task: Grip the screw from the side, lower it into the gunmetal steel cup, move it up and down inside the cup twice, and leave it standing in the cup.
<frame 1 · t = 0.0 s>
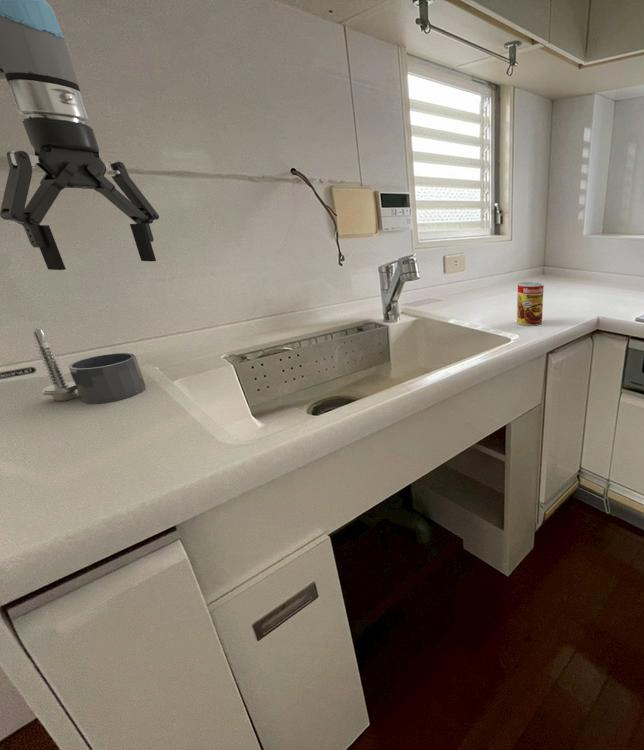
hand: (107, 265, 69), 23 cm above the countertop, tool pointing down, fingers open, 13 cm apart
steel cup: (115, 393, 75), on the countertop
canned food: (529, 323, 126), on the countertop
screw: (66, 399, 73), on the countertop
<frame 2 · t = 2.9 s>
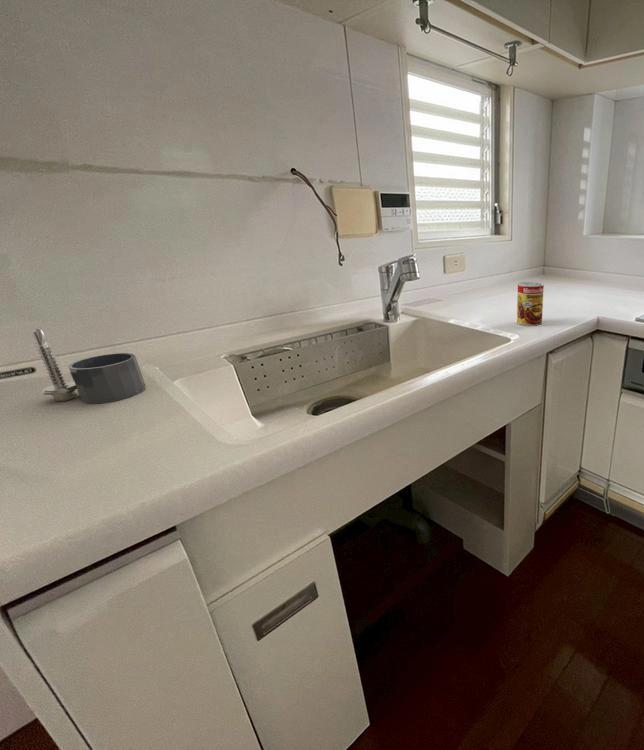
nothing on the countertop moved.
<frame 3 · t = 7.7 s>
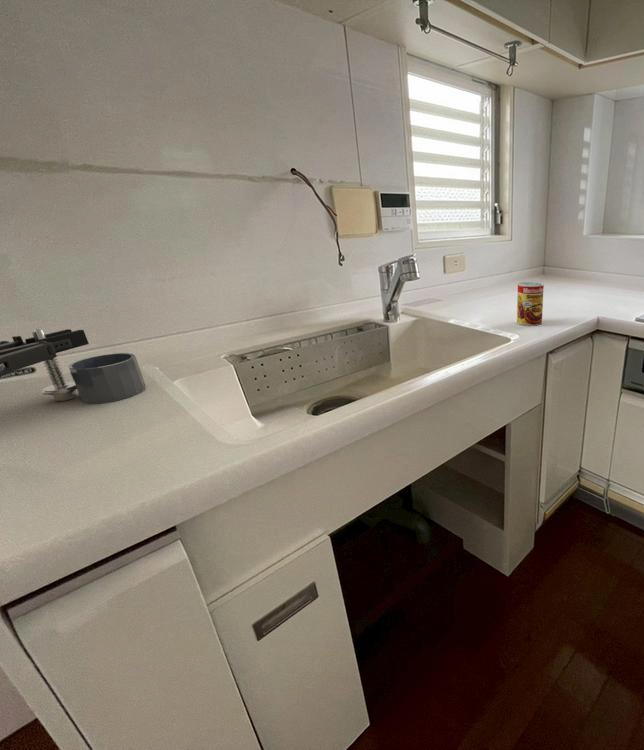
hand: (77, 336, 74), 10 cm above the countertop, tool horizontal, fingers closed on screw, 2 cm apart
screw: (66, 399, 73), on the countertop, touching gripper
everything else where it was.
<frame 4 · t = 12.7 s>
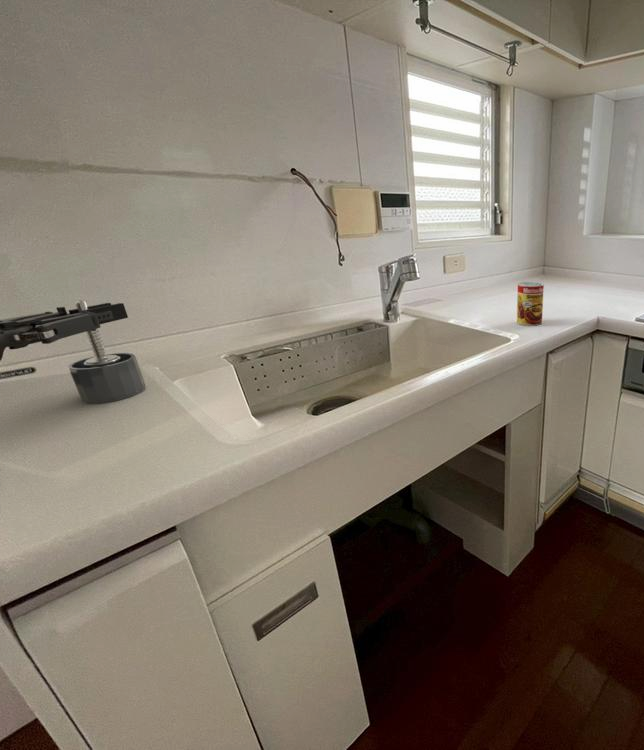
hand: (117, 310, 74), 14 cm above the countertop, tool horizontal, fingers closed on screw, 2 cm apart
screw: (106, 372, 73), point 4 cm above the countertop, touching gripper
everything else where it was.
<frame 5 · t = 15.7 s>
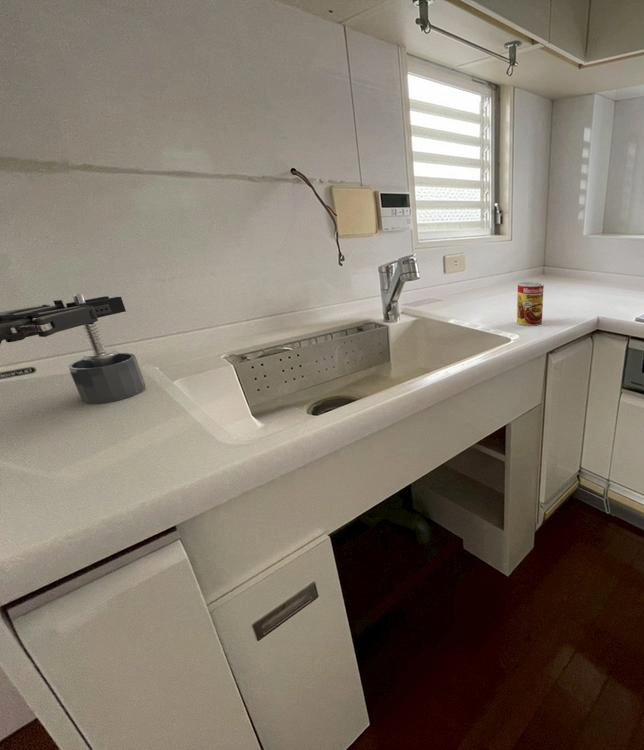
hand: (115, 303, 74), 16 cm above the countertop, tool horizontal, fingers closed on screw, 2 cm apart
screw: (104, 366, 73), point 5 cm above the countertop, touching gripper
everything else where it was.
when the fingers open (10 cm above the countertop, at t = 17.8 s): screw stays where it is, resting on steel cup.
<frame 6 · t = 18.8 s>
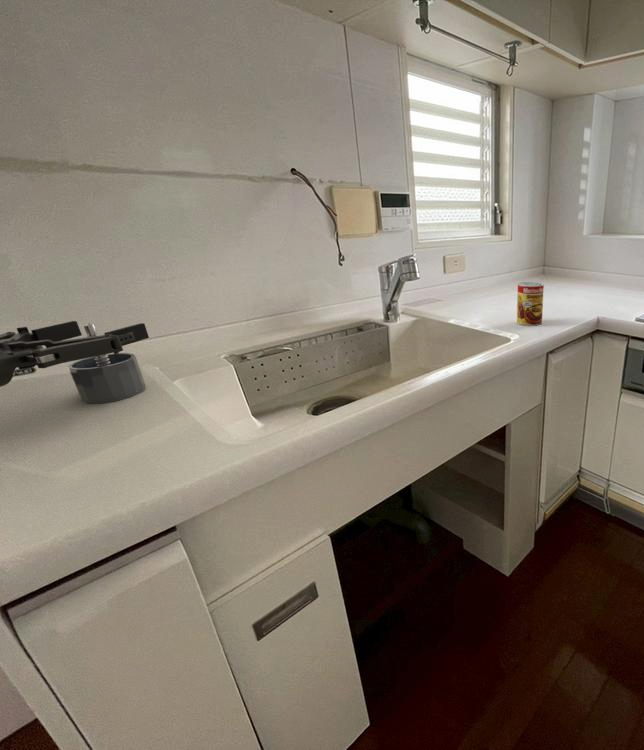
hand: (111, 329, 73), 11 cm above the countertop, tool horizontal, fingers open, 13 cm apart
screw: (114, 392, 74), resting on steel cup
everything else where it was.
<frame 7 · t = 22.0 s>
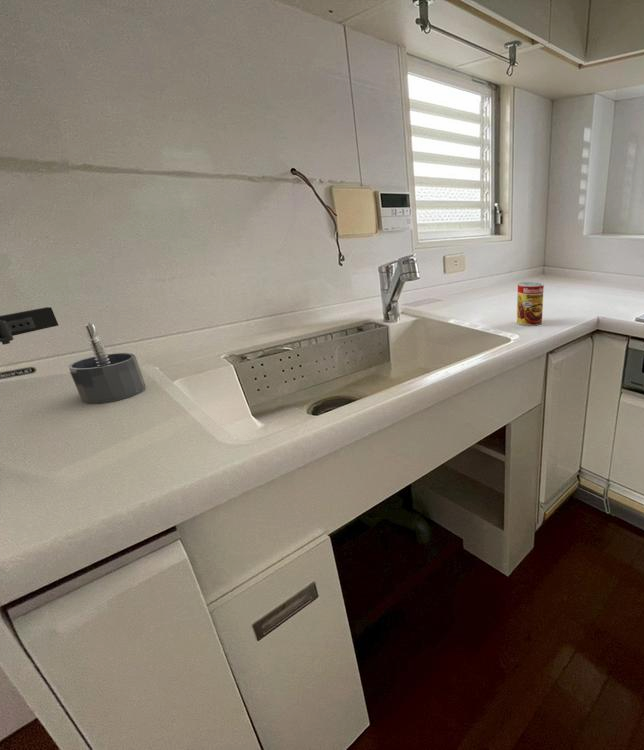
hand: (12, 314, 60), 17 cm above the countertop, tool horizontal, fingers open, 13 cm apart
nothing on the countertop moved.
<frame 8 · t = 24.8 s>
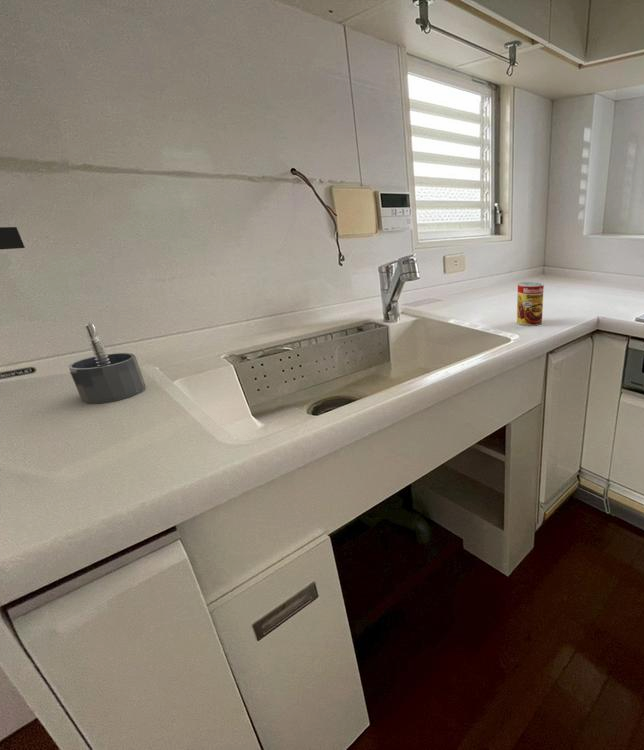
nothing on the countertop moved.
at the end: screw inside the target area in the steel cup (0.0 cm from its centre), point 0.3 cm above the steel cup's base; the gripper is holding nothing; screw tilted 0° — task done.
